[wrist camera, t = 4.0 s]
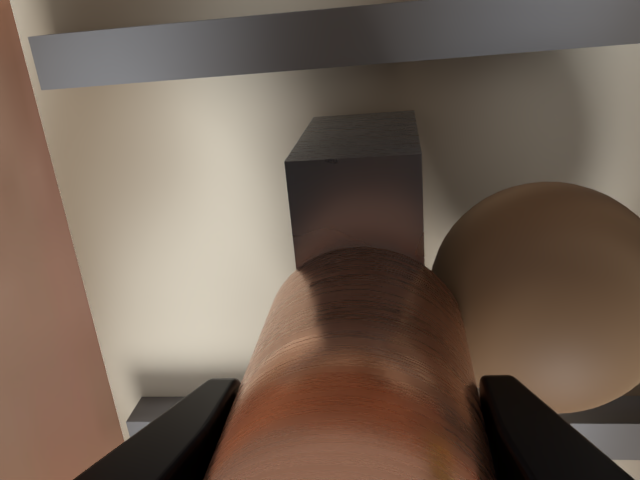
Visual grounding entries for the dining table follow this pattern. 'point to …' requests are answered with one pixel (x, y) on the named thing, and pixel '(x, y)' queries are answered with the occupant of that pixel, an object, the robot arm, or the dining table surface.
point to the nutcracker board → (282, 135)
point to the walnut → (549, 291)
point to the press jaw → (357, 328)
